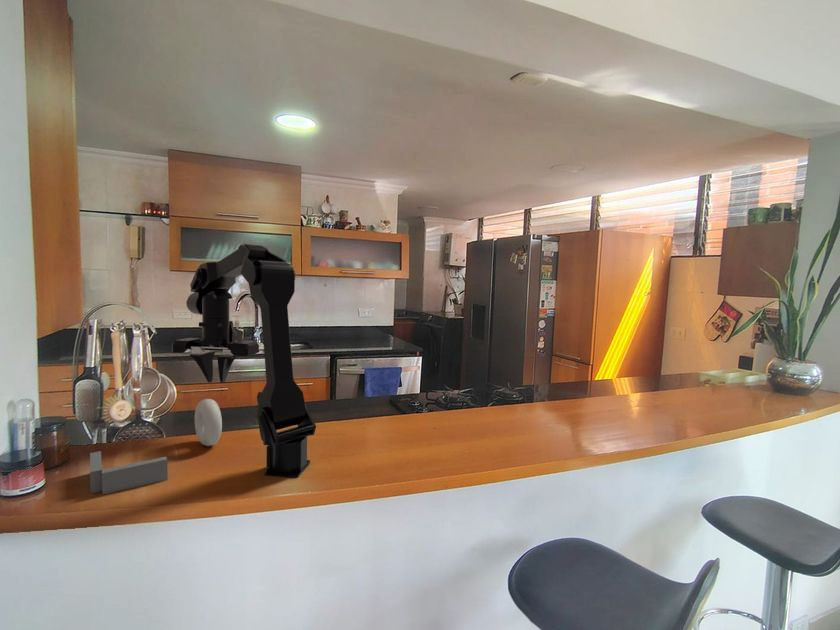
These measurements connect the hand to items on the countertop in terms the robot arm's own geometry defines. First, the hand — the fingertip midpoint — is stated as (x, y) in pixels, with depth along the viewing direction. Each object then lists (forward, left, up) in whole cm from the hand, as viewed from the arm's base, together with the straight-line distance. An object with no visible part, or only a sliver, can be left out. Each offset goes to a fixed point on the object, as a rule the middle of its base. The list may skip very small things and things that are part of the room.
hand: (216, 382), depth 96 cm
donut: (-4, +10, -11) cm, 15 cm away
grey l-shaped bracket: (0, +24, -11) cm, 26 cm away
